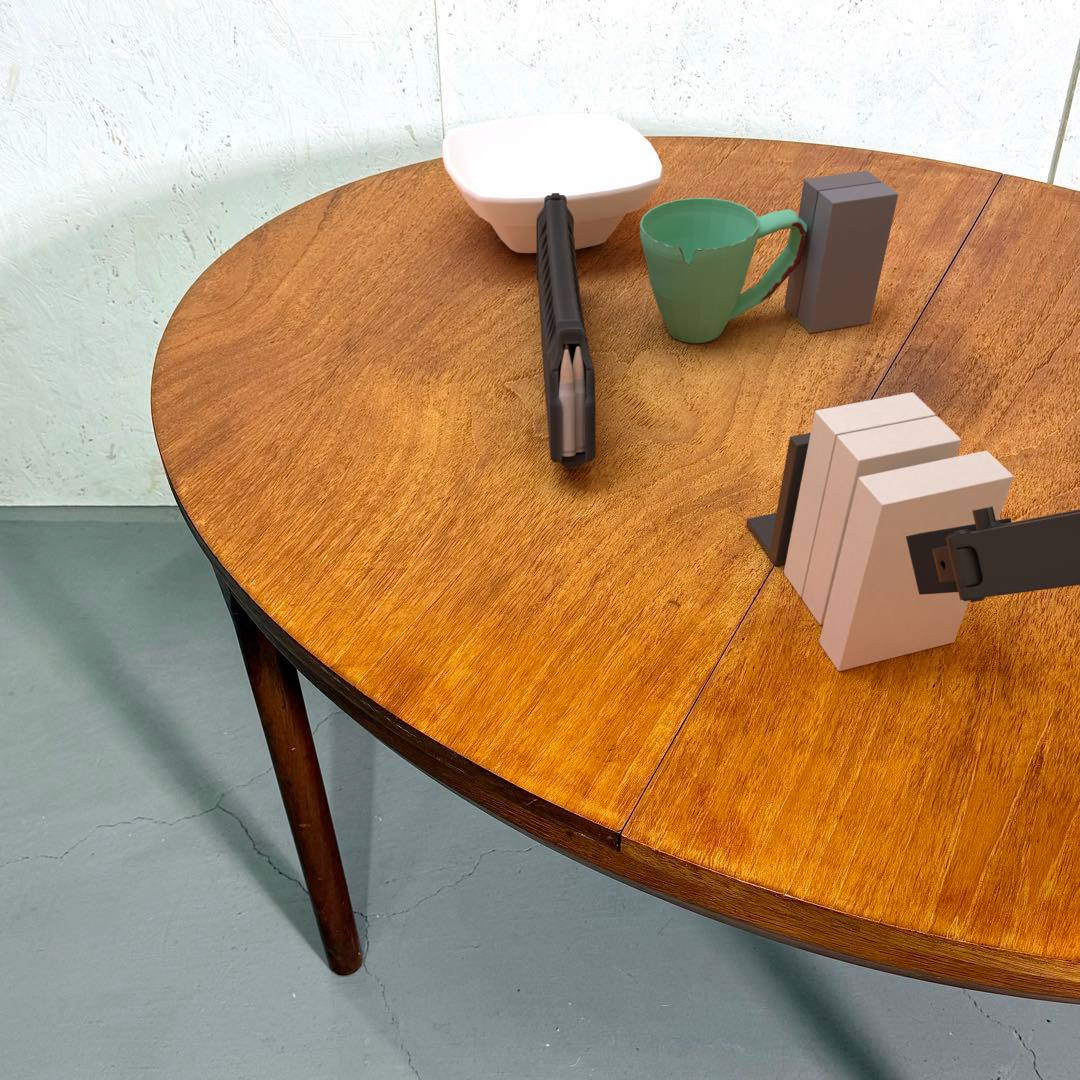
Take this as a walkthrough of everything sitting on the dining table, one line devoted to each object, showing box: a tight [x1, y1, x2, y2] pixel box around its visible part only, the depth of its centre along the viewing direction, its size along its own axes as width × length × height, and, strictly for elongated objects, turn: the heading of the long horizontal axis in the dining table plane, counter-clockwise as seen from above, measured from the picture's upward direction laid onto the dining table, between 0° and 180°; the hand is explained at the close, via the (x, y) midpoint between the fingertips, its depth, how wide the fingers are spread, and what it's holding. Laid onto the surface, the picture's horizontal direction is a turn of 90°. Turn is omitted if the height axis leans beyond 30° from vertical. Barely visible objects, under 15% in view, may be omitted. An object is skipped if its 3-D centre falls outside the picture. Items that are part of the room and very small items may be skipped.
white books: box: [745, 391, 962, 626], centre depth 67 cm, size 7×10×13 cm
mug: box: [639, 197, 807, 344], centre depth 91 cm, size 15×10×10 cm
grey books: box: [783, 170, 899, 334], centre depth 92 cm, size 6×5×12 cm
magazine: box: [536, 193, 597, 469], centre depth 86 cm, size 17×3×30 cm
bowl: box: [441, 113, 664, 254], centre depth 106 cm, size 21×21×9 cm
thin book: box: [818, 450, 1015, 672], centre depth 61 cm, size 8×2×13 cm, turn 107°
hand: (1047, 534), depth 50 cm, fingers open, 13 cm apart
